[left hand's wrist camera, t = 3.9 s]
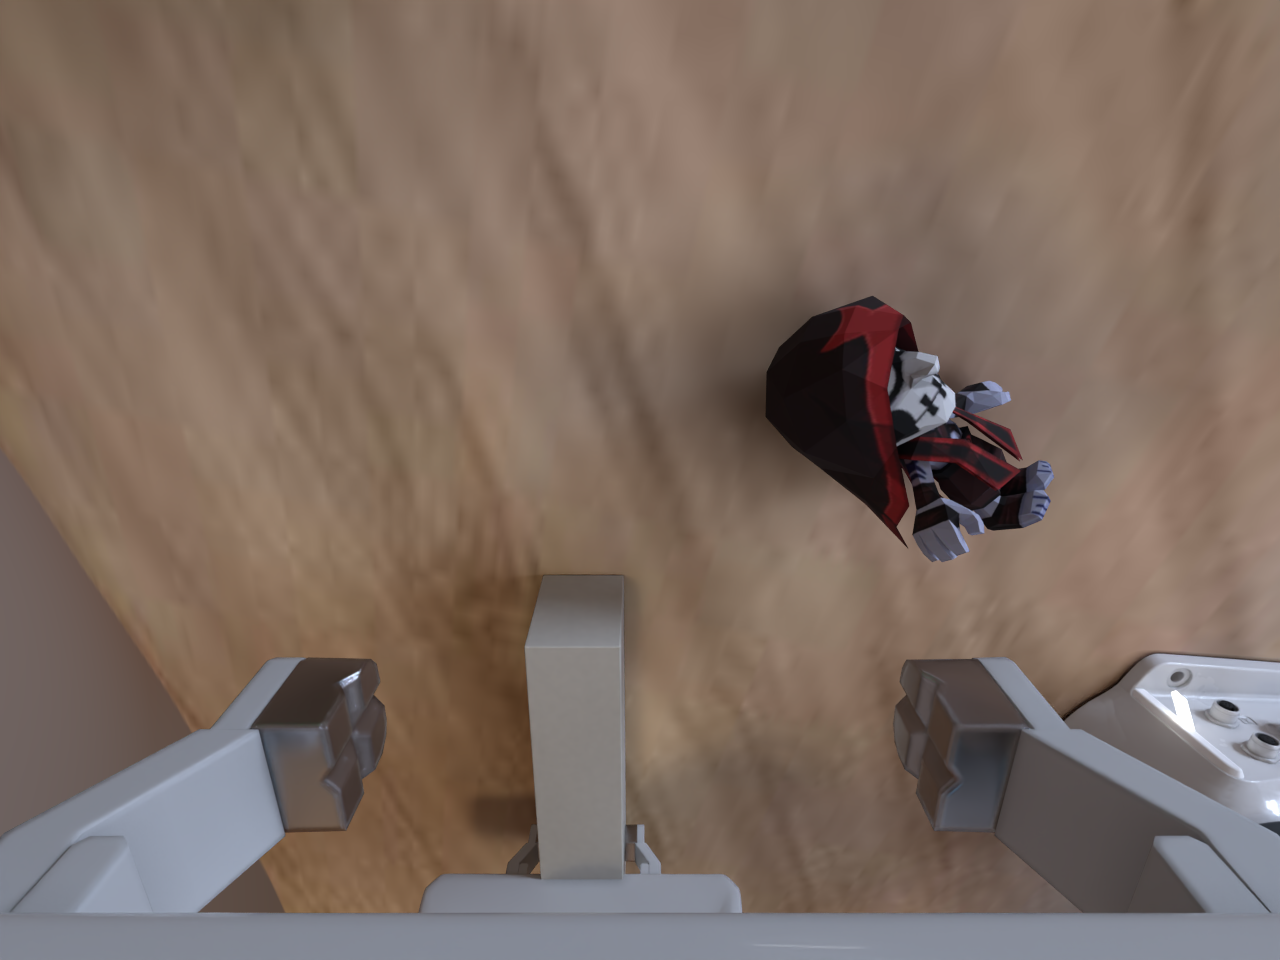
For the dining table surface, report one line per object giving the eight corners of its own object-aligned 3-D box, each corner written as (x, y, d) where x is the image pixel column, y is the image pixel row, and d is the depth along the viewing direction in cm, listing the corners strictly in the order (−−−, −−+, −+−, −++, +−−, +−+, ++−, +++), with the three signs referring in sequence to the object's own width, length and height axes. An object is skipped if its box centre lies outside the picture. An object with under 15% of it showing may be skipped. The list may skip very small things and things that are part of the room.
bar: (543, 574, 45) (524, 646, 37) (623, 574, 45) (620, 647, 37) (558, 843, 54) (545, 945, 46) (625, 843, 54) (623, 945, 46)
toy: (1080, 573, 30) (817, 370, 28) (919, 617, 38) (704, 461, 36) (1098, 392, 36) (885, 215, 34) (957, 461, 44) (777, 321, 42)
